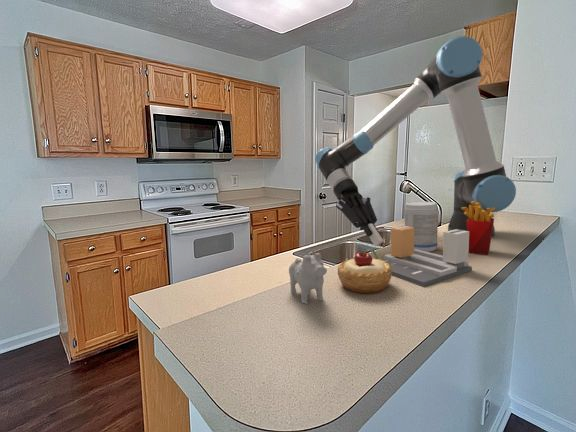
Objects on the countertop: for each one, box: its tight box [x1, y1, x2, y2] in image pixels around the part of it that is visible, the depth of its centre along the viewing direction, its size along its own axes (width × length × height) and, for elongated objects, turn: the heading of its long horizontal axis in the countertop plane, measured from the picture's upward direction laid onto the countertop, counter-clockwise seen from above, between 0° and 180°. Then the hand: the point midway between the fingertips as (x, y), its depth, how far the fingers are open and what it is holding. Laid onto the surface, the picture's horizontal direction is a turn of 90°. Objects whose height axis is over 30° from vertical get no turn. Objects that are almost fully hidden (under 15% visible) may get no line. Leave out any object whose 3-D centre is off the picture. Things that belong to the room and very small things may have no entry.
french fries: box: [462, 201, 495, 256], centre depth 95 cm, size 9×8×15 cm
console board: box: [380, 229, 473, 287], centre depth 83 cm, size 18×18×10 cm
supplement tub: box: [404, 201, 439, 253], centre depth 101 cm, size 10×10×15 cm
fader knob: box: [390, 225, 414, 260], centre depth 88 cm, size 5×4×9 cm
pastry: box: [337, 248, 392, 294], centre depth 74 cm, size 12×12×9 cm
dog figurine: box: [288, 252, 328, 305], centre depth 68 cm, size 5×13×11 cm, turn 22°
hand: (379, 243), depth 95 cm, fingers closed
